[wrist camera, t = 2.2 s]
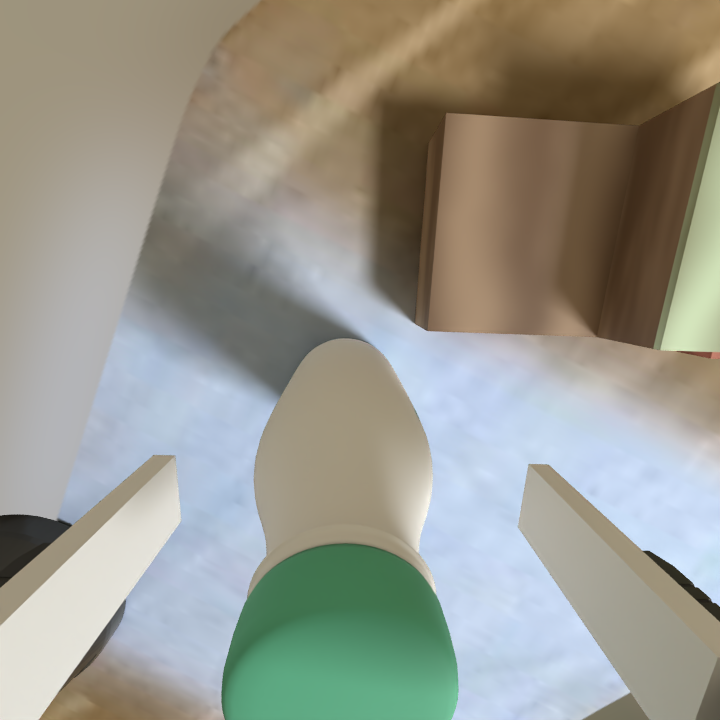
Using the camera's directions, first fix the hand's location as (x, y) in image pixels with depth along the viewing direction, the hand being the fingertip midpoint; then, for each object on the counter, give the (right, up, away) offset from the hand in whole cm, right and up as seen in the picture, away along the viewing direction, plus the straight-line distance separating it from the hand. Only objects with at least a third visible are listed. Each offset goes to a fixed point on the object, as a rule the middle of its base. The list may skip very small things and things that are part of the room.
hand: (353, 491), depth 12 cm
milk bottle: (-1, +3, +13) cm, 14 cm away
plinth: (+16, +13, +11) cm, 23 cm away
